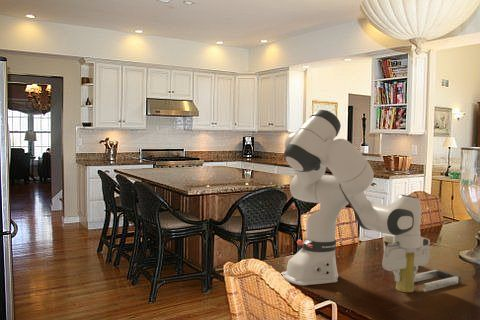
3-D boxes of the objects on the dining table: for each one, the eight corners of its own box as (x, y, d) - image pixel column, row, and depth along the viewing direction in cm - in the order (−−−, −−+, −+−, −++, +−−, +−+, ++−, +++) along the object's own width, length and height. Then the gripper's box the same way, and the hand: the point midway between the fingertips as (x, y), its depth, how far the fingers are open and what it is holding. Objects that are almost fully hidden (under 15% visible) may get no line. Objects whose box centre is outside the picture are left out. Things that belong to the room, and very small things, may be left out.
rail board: (425, 291, 150) (426, 284, 149) (403, 283, 158) (403, 276, 158) (460, 283, 159) (460, 276, 159) (437, 275, 167) (438, 269, 167)
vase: (399, 285, 156) (400, 246, 155) (416, 289, 152) (418, 249, 151) (393, 289, 151) (394, 249, 150) (410, 294, 147) (412, 253, 146)
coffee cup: (380, 262, 184) (381, 235, 183) (384, 257, 192) (385, 230, 191) (403, 266, 179) (404, 237, 179) (406, 260, 188) (407, 233, 187)
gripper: (393, 246, 143) (391, 286, 143) (433, 239, 152) (431, 278, 153) (378, 241, 148) (377, 281, 149) (418, 236, 158) (416, 272, 159)
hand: (405, 279), depth 151 cm, fingers closed on vase, 6 cm apart
